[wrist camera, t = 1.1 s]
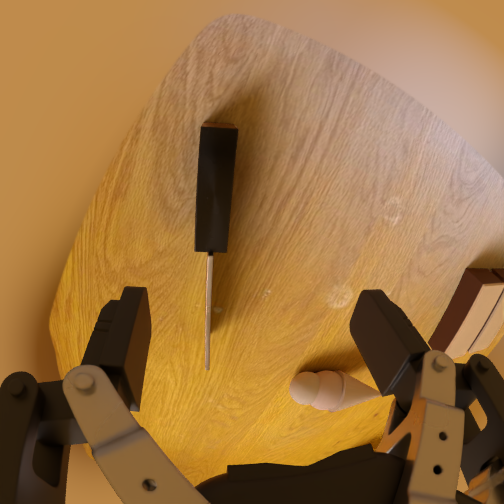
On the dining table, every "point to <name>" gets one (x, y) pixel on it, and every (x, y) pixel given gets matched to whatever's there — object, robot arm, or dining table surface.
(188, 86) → the dining table surface
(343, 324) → the dining table surface
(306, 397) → the ice cream cone
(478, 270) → the slotted tan block
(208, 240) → the knife
